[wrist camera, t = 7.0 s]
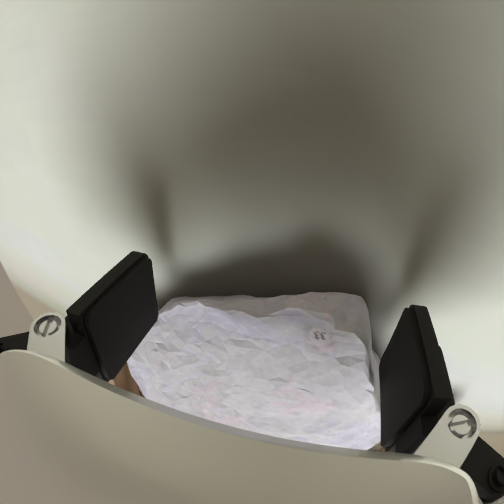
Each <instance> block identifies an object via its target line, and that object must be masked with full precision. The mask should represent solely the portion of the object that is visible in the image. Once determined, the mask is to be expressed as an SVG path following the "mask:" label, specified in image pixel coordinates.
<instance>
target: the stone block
mask: <svg viewBox="0 0 504 504" xmlns="http://www.w3.org/2000/svg"><path fill="white" fill-rule="evenodd" d="M380 361H381V360H380V358H379V356H378V355H377V353H376V352H375V351H374V350H373V349H372V333H371V325H370V317H369V312H368V308H367V305H366V303H365V301H364V300H363V298H362V297H361V296H358V295H353V294H347V293H341V292H326V293H320V292H308V293H305V294H300V295H281V296H276V297H270V298H268V297H253V296H248V295H245V294H244V295H233V296H205V297H187V296H183V297H176V298H172V299H171V300H170V301H169V302H167V303H166V304H165V305H164V306H163V308H161V309H160V310H159V311H158V319H157V321H156V323H155V324H154V325H153V327H152V328H151V329H150V331H149V332H148V333H147V335H146V336H145V338H144V339H143V340H142V342H141V343H140V344H139V346H138V347H137V348H136V350H135V351H134V352H133V354H132V355H131V357H130V358H129V359H128V361H127V364H128V367H129V370H130V373H131V376H132V377H133V378H134V380H135V381H136V383H137V384H138V385H139V387H140V389H141V391H142V393H143V395H144V396H145V397H146V399H149V400H151V401H154V402H157V403H159V404H162V405H165V406H168V407H171V408H173V409H176V410H179V411H182V412H185V413H188V414H191V415H194V416H197V417H201V418H204V419H207V420H211V421H214V422H217V423H221V424H225V425H228V426H232V427H236V428H240V429H244V430H248V431H252V432H256V433H261V434H265V435H270V436H274V437H279V438H284V439H289V440H295V441H301V442H307V443H313V444H320V445H327V446H334V447H342V448H351V449H360V450H368V449H370V448H371V447H373V446H374V445H376V444H377V443H379V442H380V441H381V413H380V382H379V364H380Z"/></svg>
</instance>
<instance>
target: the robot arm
mask: <svg viewBox="0 0 504 504" xmlns="http://www.w3.org/2000/svg"><path fill="white" fill-rule="evenodd" d="M66 312H67V315H68V316H67V317H65V318H64V317H63V315H61V314H59V313H56V312H48V313H45V314H42V315H40V316H39V317H37V318H36V319H35V320H34V321H33V323H32V324H31V327H30V332H26V333H21V334H16V335H12V336H7V337H2V338H0V504H504V458H503V457H502V456H501V455H500V454H498V453H497V452H496V451H495V450H494V449H493V448H492V447H490V446H489V445H488V444H487V443H486V442H485V441H484V440H482V439H481V438H480V437H479V436H478V435H479V433H480V421H479V418H478V416H477V414H476V413H475V412H474V411H473V410H472V409H471V408H469V407H467V406H465V405H461V404H459V405H455V403H454V398H453V394H452V389H451V385H450V380H449V376H448V372H447V368H446V364H445V361H444V357H443V353H442V350H441V348H440V346H439V345H438V342H437V338H436V335H435V331H434V328H433V325H432V322H431V318H430V315H429V312H428V309H427V307H424V306H418V305H410V307H409V308H405V309H404V311H403V313H402V315H401V318H400V320H399V322H398V324H397V327H396V329H395V331H394V333H393V336H392V338H391V340H390V342H389V344H388V346H387V348H386V350H385V352H384V354H383V356H382V358H381V361H380V364H379V382H380V413H381V446H382V447H385V452H384V451H371V450H360V449H351V448H342V447H334V446H327V445H320V444H313V443H307V442H301V441H295V440H289V439H284V438H279V437H274V436H270V435H265V434H261V433H256V432H252V431H248V430H244V429H240V428H236V427H232V426H228V425H225V424H221V423H217V422H214V421H211V420H207V419H204V418H201V417H197V416H194V415H191V414H188V413H185V412H182V411H179V410H176V409H173V408H171V407H168V406H165V405H162V404H159V403H157V402H154V401H151V400H149V399H146V398H144V397H141V396H139V395H136V394H134V393H131V392H129V391H126V390H124V389H122V388H119V387H117V386H115V385H113V384H110V383H108V382H109V381H110V380H113V379H114V378H115V377H116V376H117V374H118V373H119V372H120V370H121V369H122V368H123V366H124V365H125V363H126V362H127V361H128V359H129V358H130V357H131V355H132V354H133V352H134V351H135V350H136V348H137V347H138V346H139V344H140V343H141V342H142V340H143V339H144V338H145V336H146V335H147V333H148V332H149V331H150V329H151V328H152V327H153V325H154V324H155V323H156V321H157V319H158V307H157V300H156V292H155V285H154V277H153V269H152V261H151V259H150V258H148V255H147V254H145V253H140V252H135V251H132V252H131V253H129V254H128V255H127V256H126V257H125V258H124V259H122V260H121V261H120V262H119V263H118V264H117V265H116V266H114V267H113V268H112V269H111V270H110V271H109V272H108V273H106V274H105V275H104V276H103V277H102V278H101V279H100V280H99V281H98V282H96V283H95V284H94V285H93V286H92V287H91V288H90V289H89V290H88V291H87V292H85V293H84V294H83V295H82V296H81V297H80V298H79V299H78V300H77V301H76V302H75V303H74V304H73V305H72V306H71V307H69V308H68V309H67V310H66Z"/></svg>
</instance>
